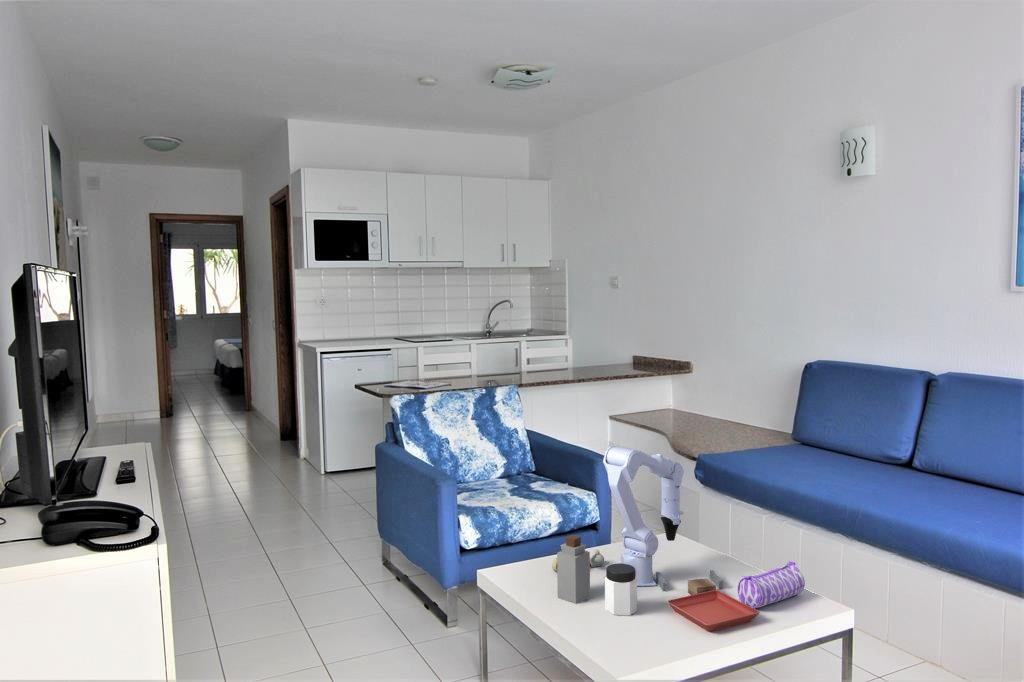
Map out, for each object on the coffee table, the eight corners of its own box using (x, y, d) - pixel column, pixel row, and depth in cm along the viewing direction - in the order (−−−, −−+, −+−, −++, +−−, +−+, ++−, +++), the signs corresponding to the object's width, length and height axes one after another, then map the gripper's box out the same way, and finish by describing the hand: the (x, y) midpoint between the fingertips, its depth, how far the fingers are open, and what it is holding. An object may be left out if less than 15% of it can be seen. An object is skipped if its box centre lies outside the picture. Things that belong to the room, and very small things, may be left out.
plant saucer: (665, 611, 217) (665, 599, 217) (716, 599, 225) (716, 588, 224) (707, 637, 201) (707, 625, 200) (761, 624, 208) (761, 612, 208)
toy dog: (608, 565, 253) (608, 538, 252) (580, 584, 238) (580, 555, 237) (575, 558, 260) (575, 532, 259) (546, 576, 245) (546, 548, 244)
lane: (663, 591, 230) (663, 583, 230) (655, 579, 239) (655, 572, 239) (722, 589, 231) (722, 581, 231) (713, 577, 240) (713, 570, 240)
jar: (642, 613, 215) (642, 570, 214) (617, 618, 212) (617, 576, 211) (624, 601, 223) (624, 560, 222) (600, 606, 220) (599, 565, 219)
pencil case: (780, 586, 233) (781, 555, 232) (808, 596, 226) (808, 564, 225) (734, 605, 220) (734, 572, 219) (761, 616, 213) (762, 582, 212)
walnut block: (697, 601, 223) (697, 587, 223) (687, 593, 229) (687, 580, 229) (716, 599, 225) (716, 585, 224) (706, 591, 230) (706, 578, 230)
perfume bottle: (590, 596, 227) (589, 536, 226) (575, 604, 222) (575, 542, 221) (572, 590, 232) (571, 532, 230) (557, 597, 227) (557, 537, 225)
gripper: (689, 504, 240) (689, 547, 241) (676, 492, 254) (676, 532, 255) (666, 505, 240) (666, 547, 241) (655, 492, 254) (655, 533, 255)
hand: (670, 540), depth 248 cm, fingers closed
